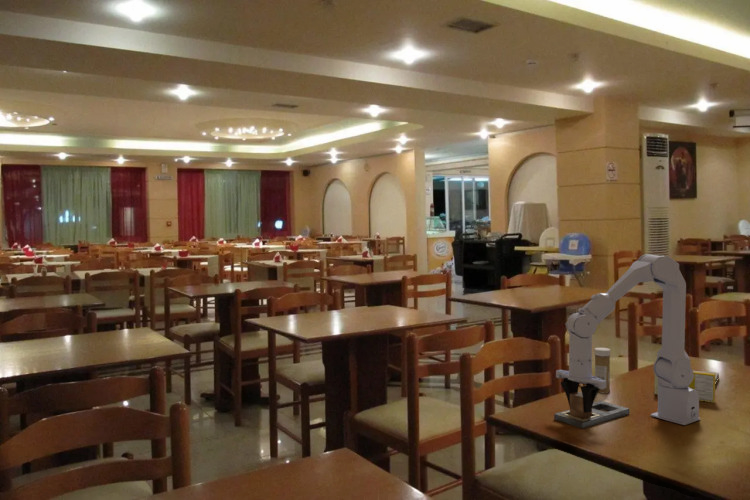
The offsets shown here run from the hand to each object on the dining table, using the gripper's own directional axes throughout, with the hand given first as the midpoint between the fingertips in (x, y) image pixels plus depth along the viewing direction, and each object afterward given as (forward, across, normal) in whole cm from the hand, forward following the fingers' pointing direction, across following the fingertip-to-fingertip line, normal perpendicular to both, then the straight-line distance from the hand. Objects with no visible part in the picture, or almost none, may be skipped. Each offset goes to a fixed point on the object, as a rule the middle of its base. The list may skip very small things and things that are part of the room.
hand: (580, 409), depth 161 cm
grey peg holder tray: (+3, 0, +5) cm, 6 cm away
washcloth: (+3, -2, +61) cm, 61 cm away
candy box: (+3, +5, +42) cm, 42 cm away
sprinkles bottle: (+3, -13, +28) cm, 31 cm away
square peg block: (+3, 0, 0) cm, 3 cm away
